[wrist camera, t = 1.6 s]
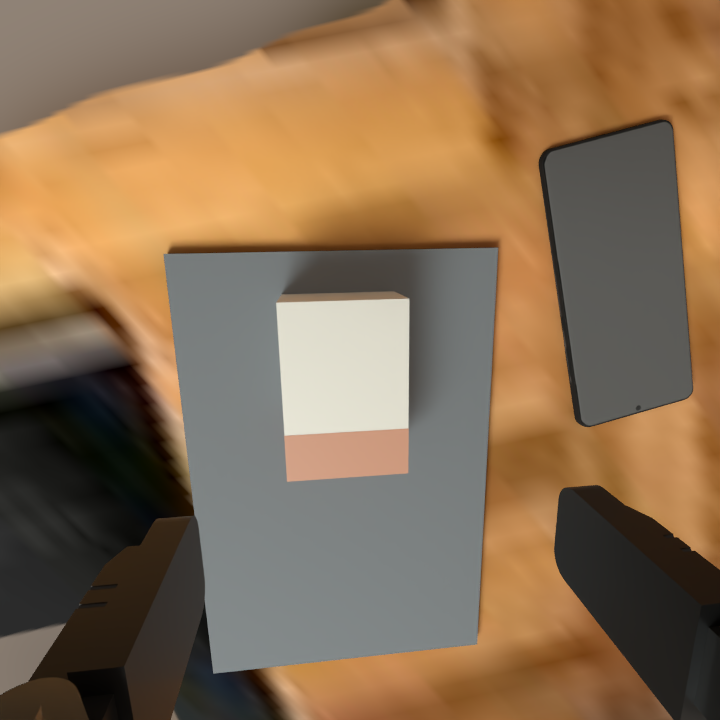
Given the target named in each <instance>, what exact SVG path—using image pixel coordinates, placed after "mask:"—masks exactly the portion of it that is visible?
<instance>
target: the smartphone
mask: <svg viewBox="0 0 720 720" xmlns="http://www.w3.org/2000/svg"><path fill="white" fill-rule="evenodd" d="M539 170H540V177H541V184H542V191H543V198H544V205H545V212H546V219H547V226H548V233H549V240H550V247H551V254H552V261H553V268H554V275H555V282H556V289H557V295H558V302H559V309H560V316H561V323H562V330H563V337H564V346H565V353H566V360H567V367H568V374H569V381H570V388H571V395H572V402H573V409H574V415H575V420H576V421H577V422H578V423H579V424H580V425H582V426H585V427H592V426H595V425H599V424H602V423H606V422H609V421H612V420H616V419H619V418H623V417H626V416H630V415H633V414H637V413H640V412H644V411H647V410H650V409H654V408H657V407H661V406H664V405H668V404H671V403H675V402H678V401H681V400H685V399H687V398H688V397H689V396H690V395H691V394H692V392H693V381H692V368H691V355H690V342H689V329H688V316H687V304H686V291H685V278H684V265H683V252H682V239H681V226H680V213H679V200H678V187H677V174H676V161H675V148H674V135H673V127H672V125H671V123H670V122H669V121H667V120H657V121H653V122H649V123H645V124H641V125H638V126H634V127H630V128H626V129H623V130H619V131H615V132H611V133H608V134H604V135H600V136H596V137H592V138H589V139H585V140H581V141H577V142H574V143H570V144H566V145H562V146H558V147H555V148H551V149H548V150H546V151H545V152H543V153H542V155H541V157H540V159H539Z"/></svg>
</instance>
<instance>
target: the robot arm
mask: <svg viewBox="0 0 720 720" xmlns="http://www.w3.org/2000/svg"><path fill="white" fill-rule="evenodd" d="M554 552H555V559H556V563H557V567H558V569H559V572H560V574H561V575H562V577H563V579H564V580H565V581H566V583H567V584H568V585H569V586H570V588H571V589H572V590H573V592H574V593H575V594H576V595H577V597H578V598H579V599H580V601H581V602H582V603H583V604H584V606H585V607H586V608H587V609H588V611H589V612H590V613H591V615H592V616H593V617H594V618H595V620H596V621H597V622H598V624H599V625H600V626H601V627H602V629H603V630H604V631H605V632H606V634H607V635H608V636H609V638H610V639H611V640H612V641H613V643H614V644H615V645H616V646H617V648H618V649H619V650H620V652H621V653H622V654H623V655H624V657H625V658H626V659H627V661H628V662H629V663H630V664H631V666H632V667H633V668H634V669H635V671H636V672H637V673H638V675H639V676H640V677H641V678H642V680H643V681H644V682H645V684H646V685H647V686H648V687H649V689H650V690H651V691H652V692H653V694H654V695H655V696H656V698H657V699H658V700H659V701H660V703H661V704H662V705H663V706H664V708H665V709H666V710H667V712H668V713H669V714H670V715H671V717H672V718H673V719H674V720H720V570H719V569H718V568H716V567H715V566H714V565H713V564H711V563H710V562H709V561H707V560H706V559H705V558H703V557H702V556H701V555H700V554H698V553H697V552H696V551H691V549H690V547H689V546H688V545H687V544H685V543H684V542H683V541H681V540H680V539H679V538H677V537H675V538H674V536H673V534H672V533H671V532H670V531H668V530H667V529H666V528H664V527H663V526H662V525H661V524H659V523H658V522H657V521H655V520H654V519H653V518H651V517H649V516H647V515H645V514H643V513H640V512H638V511H636V510H634V509H632V508H630V507H628V506H625V505H624V504H623V503H622V502H620V501H619V500H618V499H617V498H615V497H614V496H613V495H611V494H610V493H609V492H608V491H606V490H605V489H604V488H602V487H601V486H598V485H593V486H580V487H567V488H564V489H562V491H561V492H560V495H559V502H558V513H557V524H556V535H555V546H554ZM204 599H205V577H204V568H203V560H202V551H201V543H200V534H199V526H198V521H197V519H196V517H195V516H187V517H174V518H161V519H156V520H155V522H154V523H153V525H152V526H151V528H150V530H149V532H148V533H147V535H146V537H145V539H144V540H143V542H142V544H141V545H140V546H131V547H126V548H125V549H124V550H123V551H122V552H120V553H119V554H118V555H117V556H115V557H114V558H113V559H112V560H111V561H109V562H108V563H107V564H106V565H105V566H104V567H103V569H102V570H101V572H100V573H99V575H98V576H97V578H96V579H95V581H94V582H93V584H92V585H91V590H90V591H87V593H86V594H85V596H84V598H83V599H82V601H81V602H80V604H79V608H78V609H76V610H75V611H74V613H73V614H72V616H71V617H70V619H69V620H68V622H67V623H66V625H65V626H64V628H63V629H62V631H61V633H60V634H59V636H58V637H57V639H56V640H55V642H54V643H53V645H52V646H51V648H50V649H49V651H48V652H47V654H46V655H45V657H44V658H43V660H42V661H41V663H40V664H39V666H38V667H37V669H36V671H35V672H34V674H33V675H32V677H31V678H30V680H29V681H28V682H26V683H24V684H21V685H18V686H16V687H14V688H12V689H10V690H8V691H6V692H4V693H3V694H1V695H0V720H171V716H172V713H173V710H174V706H175V703H176V700H177V696H178V693H179V690H180V686H181V683H182V679H183V676H184V673H185V669H186V666H187V663H188V659H189V656H190V653H191V649H192V646H193V643H194V639H195V636H196V633H197V629H198V626H199V623H200V619H201V616H202V612H203V607H204Z"/></svg>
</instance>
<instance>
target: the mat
mask: <svg viewBox="0 0 720 720" xmlns="http://www.w3.org/2000/svg"><path fill="white" fill-rule="evenodd" d="M164 261H165V270H166V278H167V287H168V295H169V303H170V312H171V320H172V329H173V337H174V345H175V354H176V362H177V371H178V379H179V387H180V396H181V404H182V413H183V421H184V429H185V438H186V446H187V455H188V463H189V471H190V480H191V488H192V497H193V505H194V513H195V517H196V519H197V521H198V526H199V534H200V543H201V551H202V560H203V568H204V577H205V606H206V614H207V623H208V631H209V639H210V648H211V656H212V665H213V673H222V672H231V671H240V670H249V669H258V668H267V667H276V666H285V665H294V664H303V663H312V662H321V661H330V660H340V659H349V658H358V657H367V656H376V655H385V654H394V653H403V652H412V651H421V650H430V649H439V648H448V647H457V646H466V645H475V644H477V634H478V616H479V597H480V578H481V560H482V541H483V522H484V504H485V485H486V466H487V448H488V429H489V410H490V391H491V373H492V354H493V335H494V317H495V298H496V279H497V261H498V248H456V249H403V250H350V251H297V252H244V253H191V254H164ZM386 291H394V292H396V293H399V294H401V295H403V296H405V297H407V298H409V421H408V428H409V455H408V473H406V474H391V475H377V476H363V477H348V478H334V479H320V480H305V481H291V482H287V473H286V457H285V441H284V421H283V405H282V389H281V373H280V357H279V341H278V325H277V309H276V302H277V301H278V299H279V298H280V296H281V294H315V293H350V292H386Z"/></svg>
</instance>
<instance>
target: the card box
mask: <svg viewBox="0 0 720 720" xmlns="http://www.w3.org/2000/svg"><path fill="white" fill-rule="evenodd" d="M276 309H277V325H278V341H279V357H280V373H281V389H282V405H283V421H284V441H285V457H286V473H287V482H291V481H305V480H320V479H334V478H348V477H363V476H377V475H391V474H406V473H408V455H409V428H408V421H409V298H407V297H405V296H403V295H401V294H399V293H396V292H394V291H386V292H350V293H315V294H281V296H280V298H279V299H278V301H277V302H276Z"/></svg>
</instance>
